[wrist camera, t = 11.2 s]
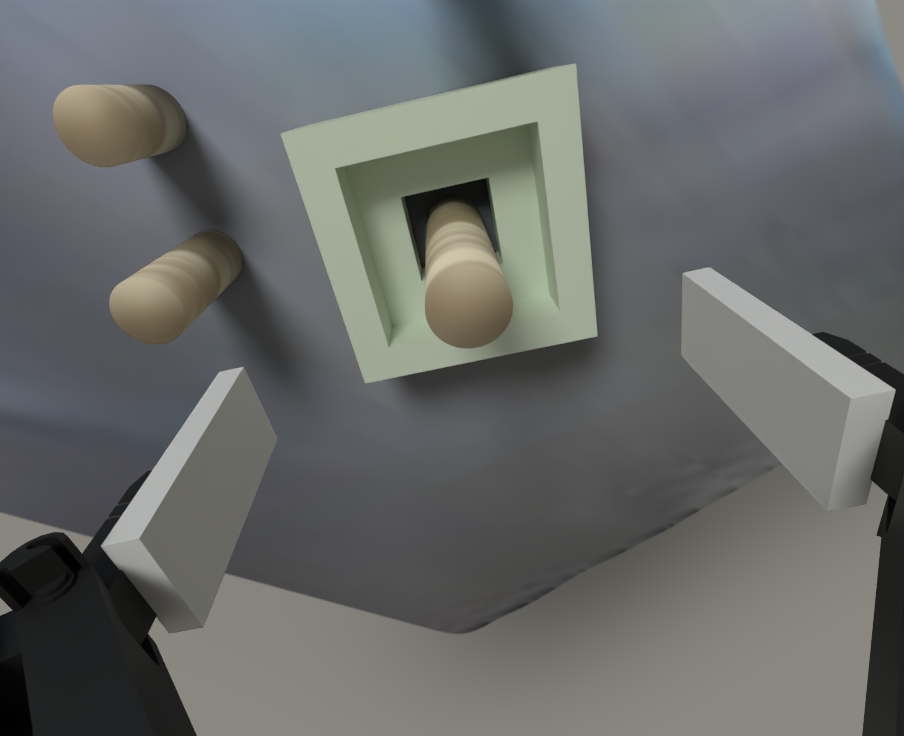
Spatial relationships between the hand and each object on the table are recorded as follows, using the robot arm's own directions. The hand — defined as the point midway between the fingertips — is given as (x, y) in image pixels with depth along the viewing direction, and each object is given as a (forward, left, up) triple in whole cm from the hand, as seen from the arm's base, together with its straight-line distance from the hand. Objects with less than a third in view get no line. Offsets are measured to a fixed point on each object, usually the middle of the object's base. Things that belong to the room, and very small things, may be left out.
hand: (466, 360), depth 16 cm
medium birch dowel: (-1, -15, -19) cm, 24 cm away
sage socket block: (0, 0, -19) cm, 19 cm away
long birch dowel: (0, 0, -19) cm, 19 cm away
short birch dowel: (-9, -15, -19) cm, 25 cm away
